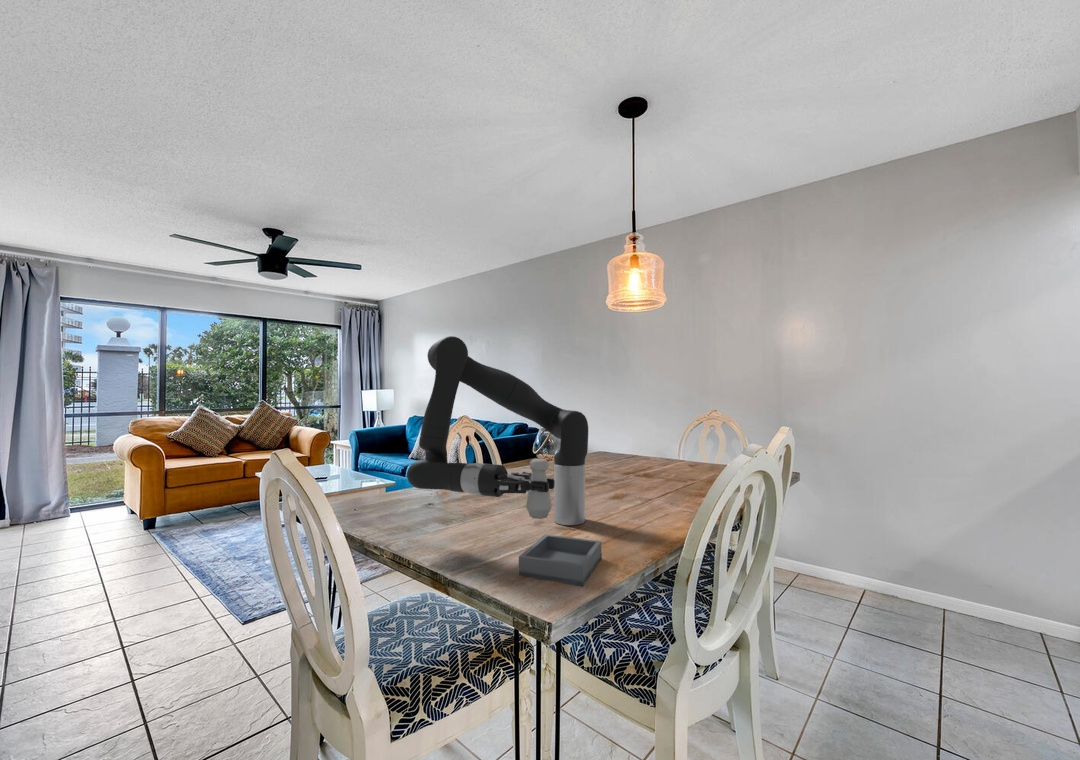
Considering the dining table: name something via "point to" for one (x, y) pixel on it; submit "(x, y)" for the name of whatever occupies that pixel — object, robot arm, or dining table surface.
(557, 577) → the tray
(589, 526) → the dining table surface
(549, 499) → the salt shaker
